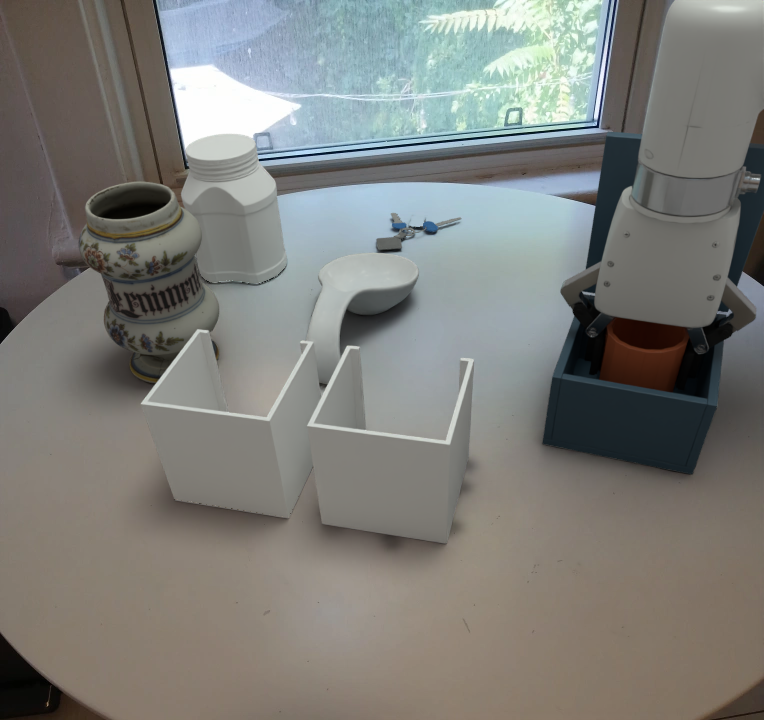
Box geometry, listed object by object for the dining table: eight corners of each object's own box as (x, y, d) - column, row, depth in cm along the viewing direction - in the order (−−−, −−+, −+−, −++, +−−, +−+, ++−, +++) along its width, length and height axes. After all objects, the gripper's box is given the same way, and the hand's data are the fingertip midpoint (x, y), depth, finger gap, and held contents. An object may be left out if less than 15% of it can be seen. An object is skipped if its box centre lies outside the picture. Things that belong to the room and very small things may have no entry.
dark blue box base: (692, 475, 65) (717, 405, 60) (541, 444, 69) (552, 376, 64) (704, 381, 75) (726, 314, 69) (570, 359, 79) (582, 293, 73)
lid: (785, 150, 56) (788, 117, 59) (606, 135, 60) (617, 104, 63) (727, 312, 69) (732, 278, 72) (582, 291, 72) (592, 260, 75)
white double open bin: (174, 500, 66) (140, 403, 58) (222, 424, 73) (197, 329, 65) (446, 543, 61) (449, 444, 53) (468, 457, 68) (474, 359, 60)
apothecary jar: (176, 404, 76) (125, 238, 63) (97, 370, 81) (35, 210, 68) (251, 346, 83) (218, 186, 70) (174, 319, 88) (130, 164, 75)
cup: (624, 370, 75) (640, 299, 69) (684, 401, 71) (706, 330, 65) (578, 399, 72) (590, 328, 66) (637, 434, 68) (657, 362, 62)
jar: (190, 283, 94) (159, 161, 83) (212, 247, 100) (186, 131, 89) (277, 285, 92) (257, 162, 81) (294, 249, 99) (277, 131, 88)
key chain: (387, 257, 96) (387, 251, 95) (348, 237, 100) (347, 231, 100) (462, 222, 102) (462, 216, 101) (421, 204, 106) (421, 199, 106)
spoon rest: (339, 272, 94) (333, 218, 89) (428, 281, 91) (428, 225, 86) (273, 380, 78) (262, 322, 73) (379, 394, 76) (375, 334, 70)
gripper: (807, 175, 56) (737, 367, 69) (578, 155, 61) (553, 338, 74) (808, 217, 51) (733, 415, 64) (560, 192, 56) (537, 381, 69)
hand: (637, 372), depth 69 cm, fingers closed on cup, 7 cm apart
